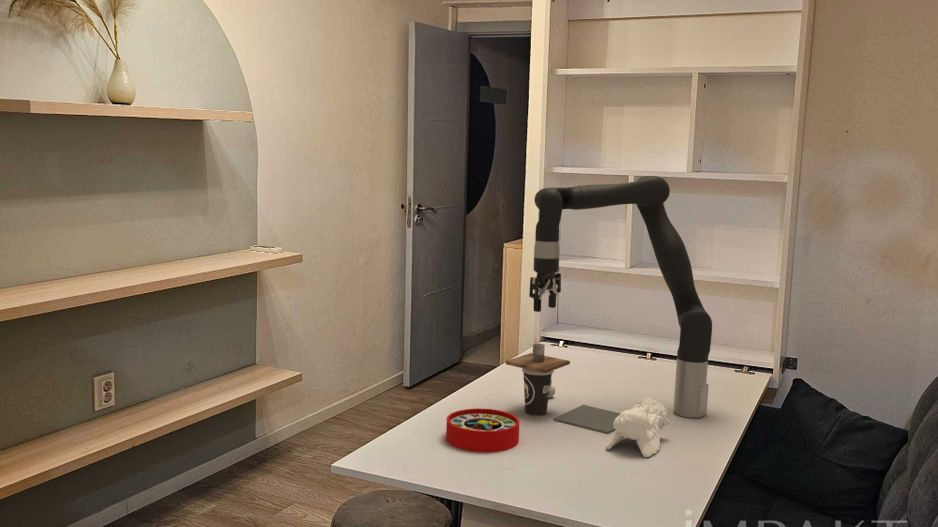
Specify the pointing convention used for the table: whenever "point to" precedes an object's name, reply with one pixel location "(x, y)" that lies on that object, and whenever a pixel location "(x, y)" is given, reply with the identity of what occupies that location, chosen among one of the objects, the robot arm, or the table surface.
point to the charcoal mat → (590, 418)
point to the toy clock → (482, 430)
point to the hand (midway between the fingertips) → (544, 309)
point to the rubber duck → (551, 390)
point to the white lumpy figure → (641, 425)
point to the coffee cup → (536, 391)
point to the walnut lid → (538, 360)
